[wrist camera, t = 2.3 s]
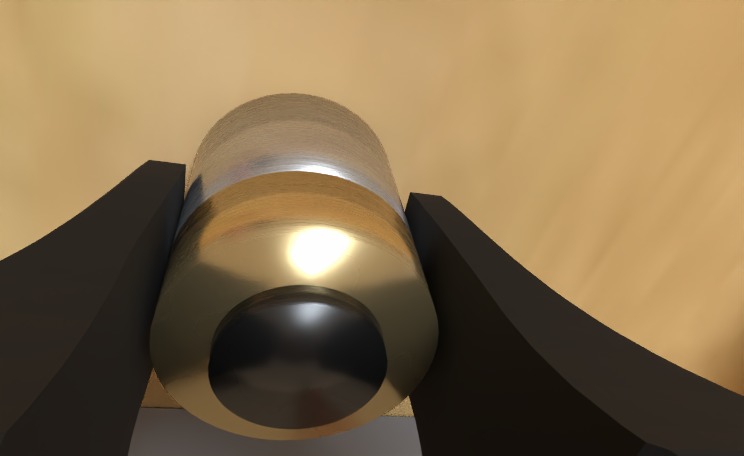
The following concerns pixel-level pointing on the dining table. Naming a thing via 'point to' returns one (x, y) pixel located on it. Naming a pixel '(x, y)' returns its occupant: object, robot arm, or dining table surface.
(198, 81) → the dining table surface
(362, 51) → the dining table surface
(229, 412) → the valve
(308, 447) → the socket plate
